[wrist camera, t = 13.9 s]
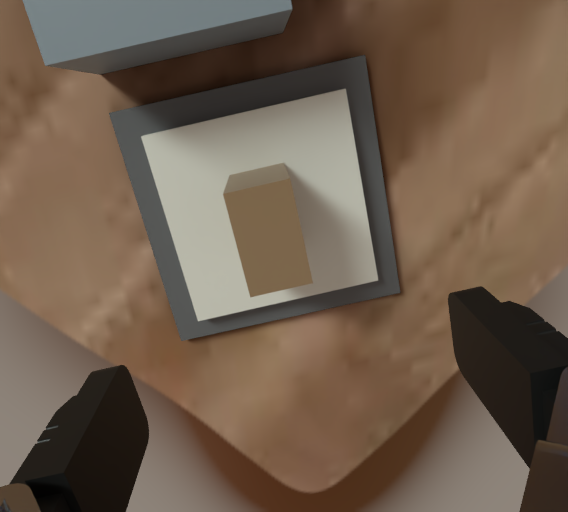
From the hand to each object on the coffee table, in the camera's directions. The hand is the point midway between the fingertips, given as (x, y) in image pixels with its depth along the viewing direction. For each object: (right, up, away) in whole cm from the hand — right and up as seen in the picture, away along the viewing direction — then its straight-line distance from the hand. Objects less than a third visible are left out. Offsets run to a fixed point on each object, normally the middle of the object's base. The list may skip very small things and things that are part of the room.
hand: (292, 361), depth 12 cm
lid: (-1, +5, +16) cm, 17 cm away
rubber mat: (-1, +5, +17) cm, 18 cm away
